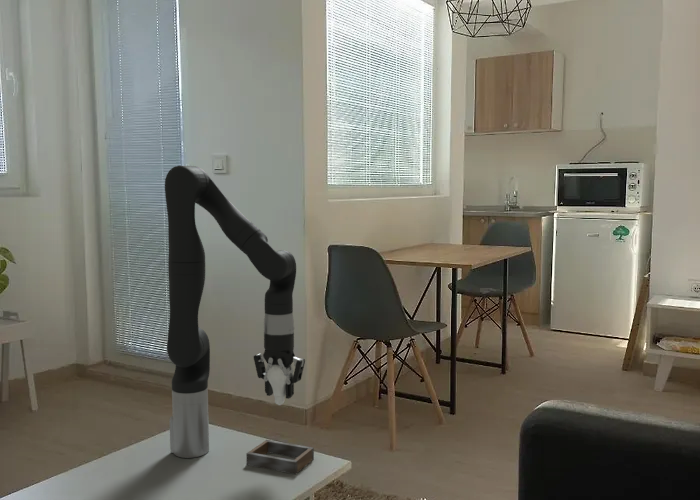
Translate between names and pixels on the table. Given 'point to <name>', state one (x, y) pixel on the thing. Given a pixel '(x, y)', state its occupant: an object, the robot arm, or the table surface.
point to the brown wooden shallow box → (280, 464)
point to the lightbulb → (278, 383)
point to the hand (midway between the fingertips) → (279, 396)
